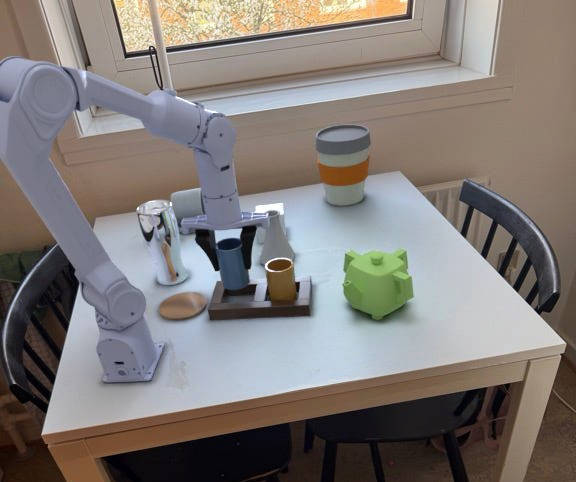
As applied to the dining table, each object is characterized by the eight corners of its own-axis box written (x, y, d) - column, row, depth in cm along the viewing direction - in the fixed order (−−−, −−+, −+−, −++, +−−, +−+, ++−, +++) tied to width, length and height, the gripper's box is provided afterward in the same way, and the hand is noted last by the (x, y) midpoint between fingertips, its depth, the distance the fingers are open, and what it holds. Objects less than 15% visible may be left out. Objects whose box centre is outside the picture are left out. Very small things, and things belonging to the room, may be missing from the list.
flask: (253, 265, 112) (246, 218, 105) (270, 249, 116) (264, 203, 110) (284, 270, 109) (278, 223, 102) (301, 253, 113) (296, 207, 107)
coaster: (202, 319, 99) (201, 317, 98) (153, 321, 100) (153, 319, 100) (210, 292, 105) (210, 290, 105) (165, 295, 107) (164, 293, 106)
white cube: (286, 240, 119) (283, 214, 115) (259, 243, 119) (255, 217, 115) (285, 228, 123) (282, 202, 119) (259, 231, 124) (255, 205, 120)
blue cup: (248, 289, 96) (241, 250, 91) (220, 290, 97) (212, 252, 92) (251, 274, 100) (245, 236, 95) (224, 276, 101) (217, 238, 96)
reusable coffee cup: (345, 183, 139) (342, 120, 130) (381, 195, 132) (382, 129, 122) (308, 200, 134) (302, 135, 124) (344, 213, 126) (341, 145, 116)
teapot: (344, 289, 101) (341, 240, 95) (407, 286, 100) (409, 236, 94) (343, 326, 93) (341, 275, 86) (413, 323, 91) (415, 271, 85)
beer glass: (183, 287, 108) (164, 214, 98) (150, 286, 110) (128, 214, 100) (194, 269, 113) (177, 198, 103) (163, 269, 115) (143, 199, 105)
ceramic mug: (178, 216, 135) (170, 185, 129) (211, 213, 134) (204, 182, 129) (170, 236, 127) (161, 204, 122) (205, 233, 126) (197, 201, 121)
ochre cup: (296, 308, 98) (292, 271, 93) (268, 309, 99) (263, 272, 94) (298, 293, 102) (294, 257, 97) (271, 294, 103) (266, 258, 98)
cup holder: (310, 315, 96) (309, 304, 95) (209, 320, 98) (207, 310, 97) (312, 285, 104) (311, 275, 102) (218, 290, 106) (216, 280, 104)
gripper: (266, 178, 90) (276, 254, 99) (180, 185, 92) (197, 259, 100) (262, 196, 84) (272, 274, 93) (171, 202, 86) (190, 278, 95)
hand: (233, 267), depth 96 cm, fingers closed on blue cup, 5 cm apart
